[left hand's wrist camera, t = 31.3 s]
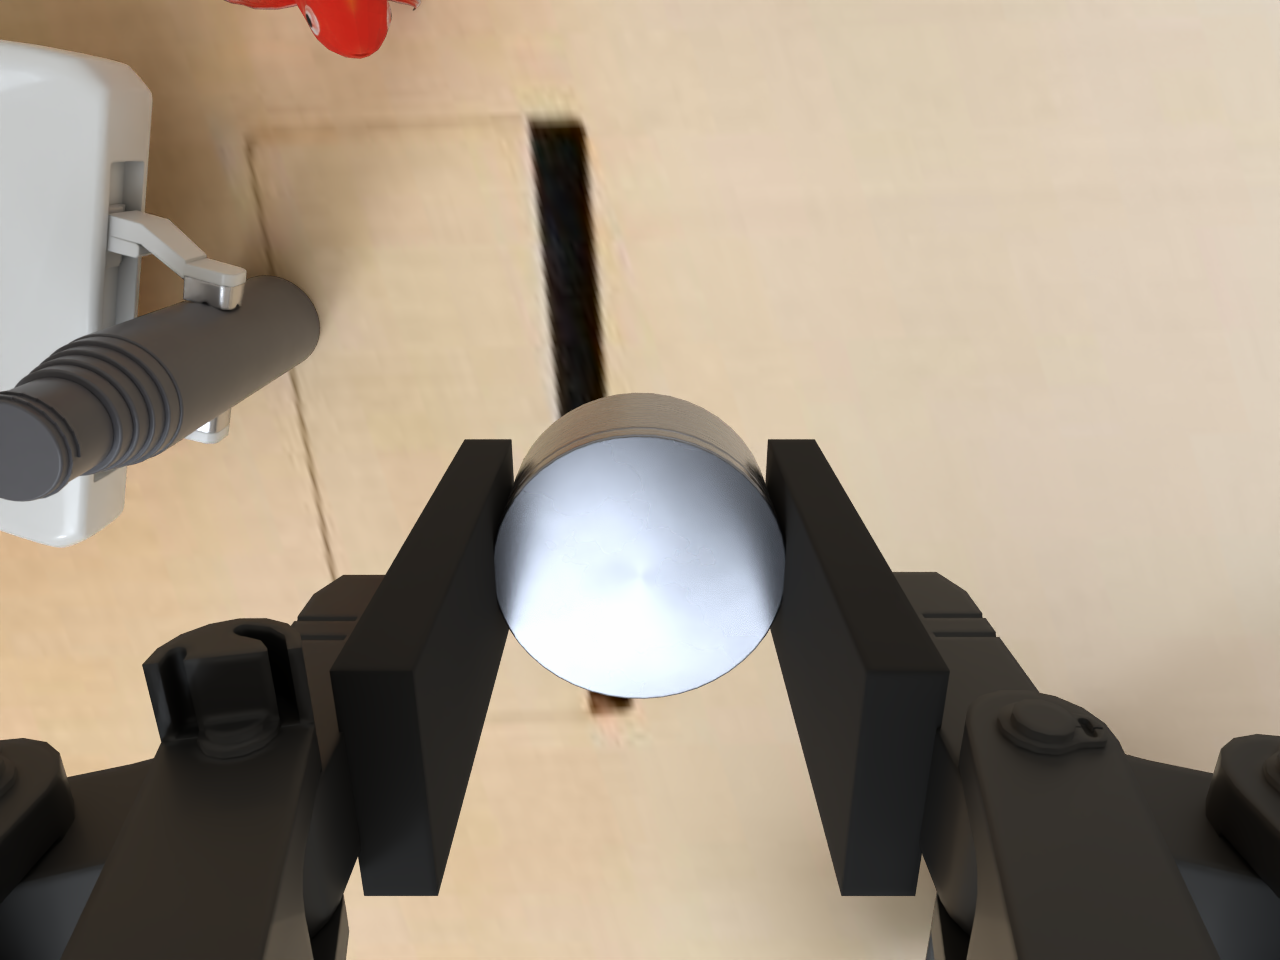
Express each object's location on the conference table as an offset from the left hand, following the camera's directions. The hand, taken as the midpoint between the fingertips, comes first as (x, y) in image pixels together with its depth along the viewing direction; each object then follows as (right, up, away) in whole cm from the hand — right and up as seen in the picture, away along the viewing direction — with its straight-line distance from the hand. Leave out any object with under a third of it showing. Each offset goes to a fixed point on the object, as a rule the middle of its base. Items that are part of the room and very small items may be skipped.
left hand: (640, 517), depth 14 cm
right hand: (-17, +6, +22) cm, 28 cm away
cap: (0, -1, -2) cm, 2 cm away
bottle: (-18, +8, +28) cm, 34 cm away
